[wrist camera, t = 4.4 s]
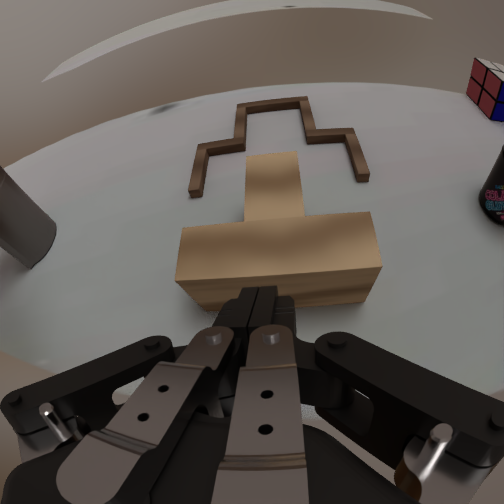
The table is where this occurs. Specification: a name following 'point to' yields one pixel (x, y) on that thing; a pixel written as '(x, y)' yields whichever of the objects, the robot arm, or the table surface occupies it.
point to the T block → (280, 246)
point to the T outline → (273, 105)
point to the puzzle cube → (487, 88)
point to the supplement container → (494, 191)
